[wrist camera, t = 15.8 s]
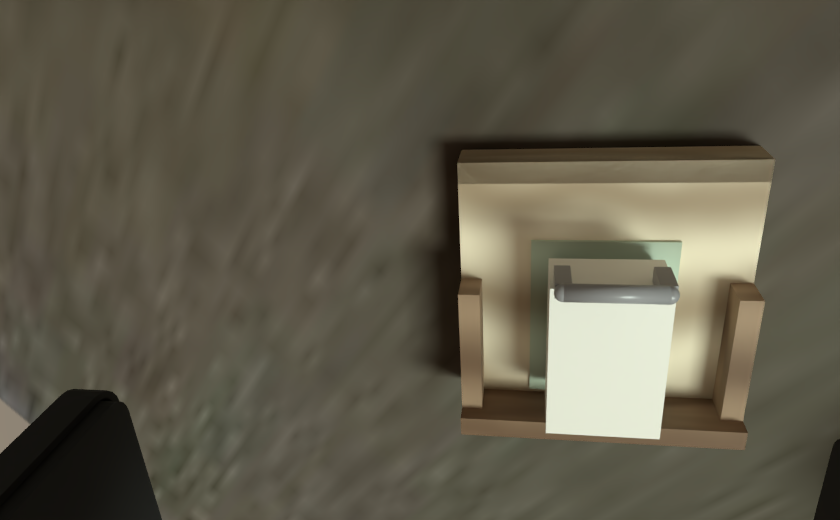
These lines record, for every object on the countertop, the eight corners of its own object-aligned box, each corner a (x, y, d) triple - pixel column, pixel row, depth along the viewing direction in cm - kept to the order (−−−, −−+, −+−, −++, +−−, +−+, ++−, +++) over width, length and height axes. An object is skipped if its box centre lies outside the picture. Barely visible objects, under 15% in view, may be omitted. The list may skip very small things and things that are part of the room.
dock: (461, 149, 38) (450, 181, 33) (760, 145, 36) (796, 178, 31) (469, 380, 45) (461, 434, 40) (720, 390, 42) (744, 450, 37)
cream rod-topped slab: (548, 234, 37) (551, 288, 31) (662, 235, 36) (686, 291, 30) (544, 382, 41) (546, 453, 35) (646, 386, 40) (664, 460, 34)
